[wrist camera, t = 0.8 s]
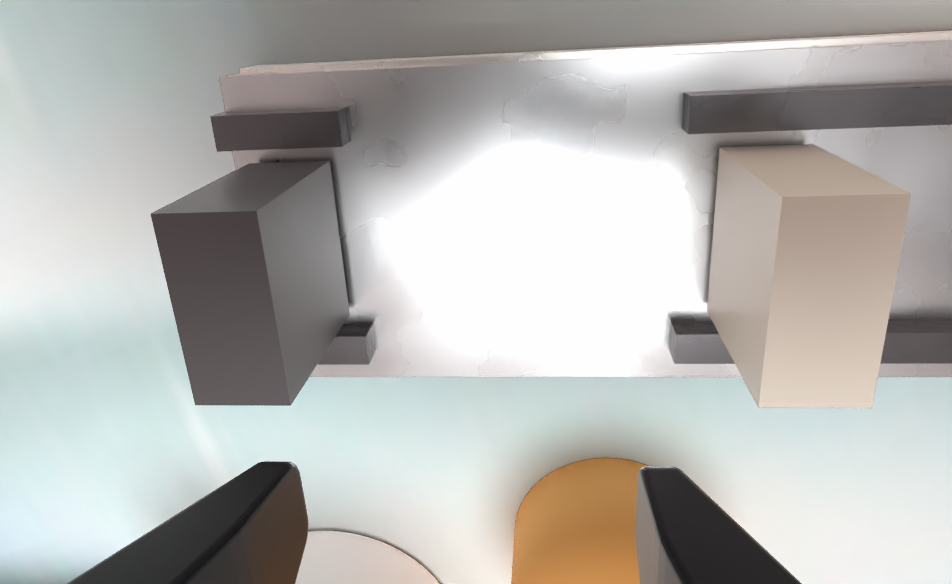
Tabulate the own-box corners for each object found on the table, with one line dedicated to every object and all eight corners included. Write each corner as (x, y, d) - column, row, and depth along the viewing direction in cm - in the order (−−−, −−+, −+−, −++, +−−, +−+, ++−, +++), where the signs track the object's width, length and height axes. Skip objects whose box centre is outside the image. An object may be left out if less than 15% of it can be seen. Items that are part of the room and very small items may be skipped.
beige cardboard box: (813, 144, 15) (911, 193, 11) (791, 310, 17) (872, 408, 13) (719, 147, 16) (782, 197, 11) (706, 311, 17) (758, 407, 13)
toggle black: (329, 160, 16) (256, 211, 12) (349, 314, 18) (290, 405, 14) (249, 163, 17) (150, 213, 13) (275, 315, 18) (195, 404, 14)
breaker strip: (1005, 26, 16) (1092, 29, 14) (937, 341, 19) (997, 393, 17) (251, 64, 18) (202, 73, 16) (297, 344, 21) (262, 391, 19)
